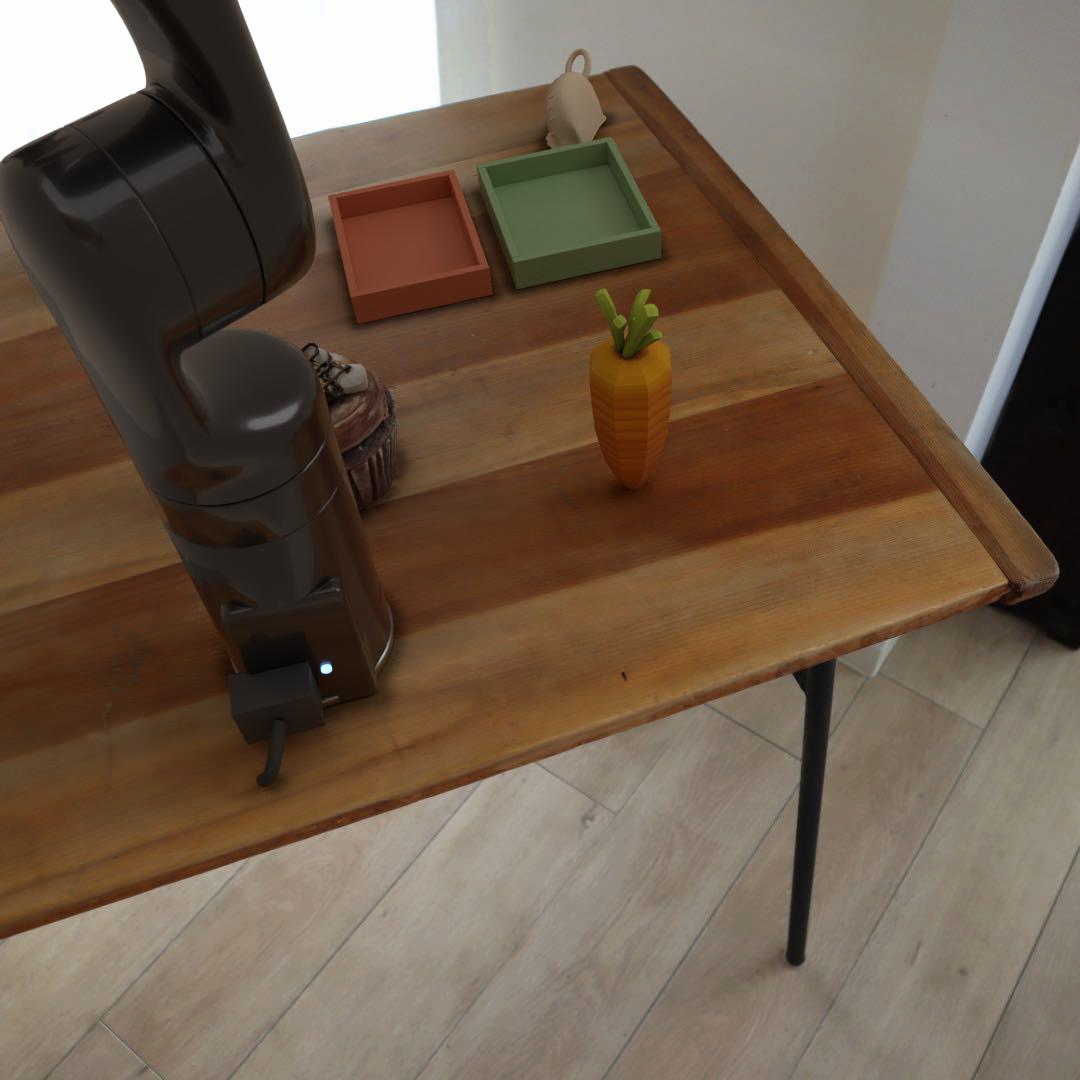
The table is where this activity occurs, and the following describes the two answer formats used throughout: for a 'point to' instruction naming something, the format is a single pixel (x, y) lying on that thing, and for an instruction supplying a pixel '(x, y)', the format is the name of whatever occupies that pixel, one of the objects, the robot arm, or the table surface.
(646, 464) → the carrot
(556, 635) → the table surface
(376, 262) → the terracotta tray
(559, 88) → the decorative ornament
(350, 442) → the cupcake
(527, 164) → the green tray
